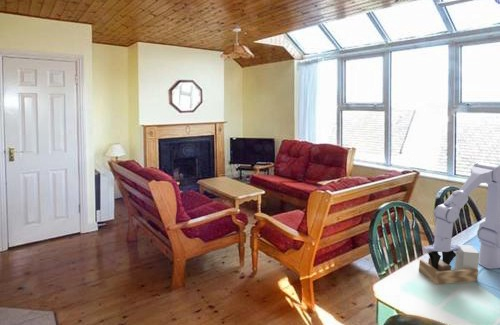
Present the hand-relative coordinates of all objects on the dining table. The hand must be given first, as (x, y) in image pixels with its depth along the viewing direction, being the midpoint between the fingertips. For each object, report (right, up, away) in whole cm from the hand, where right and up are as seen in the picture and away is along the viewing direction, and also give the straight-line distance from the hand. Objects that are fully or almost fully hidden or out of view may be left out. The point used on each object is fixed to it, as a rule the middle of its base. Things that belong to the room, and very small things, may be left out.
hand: (439, 269), depth 145 cm
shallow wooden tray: (+3, -3, -1) cm, 4 cm away
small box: (+11, -3, +2) cm, 11 cm away
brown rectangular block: (0, -2, +1) cm, 2 cm away
